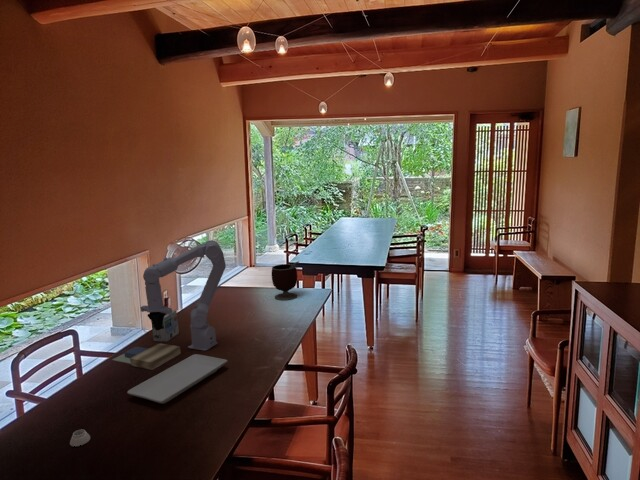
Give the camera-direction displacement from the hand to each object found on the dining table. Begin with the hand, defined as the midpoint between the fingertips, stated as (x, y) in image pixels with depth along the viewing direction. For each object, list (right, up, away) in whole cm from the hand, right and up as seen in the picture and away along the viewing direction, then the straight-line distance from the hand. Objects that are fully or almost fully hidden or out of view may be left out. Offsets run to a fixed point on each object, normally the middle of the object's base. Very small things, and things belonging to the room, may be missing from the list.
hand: (158, 329), depth 182 cm
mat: (-10, -11, 0) cm, 14 cm away
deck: (+1, -11, -5) cm, 12 cm away
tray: (+17, -14, -25) cm, 33 cm away
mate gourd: (+47, +4, +66) cm, 81 cm away
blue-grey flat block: (-8, -10, 0) cm, 13 cm away
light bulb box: (-3, -7, +18) cm, 20 cm away
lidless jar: (-2, -21, -56) cm, 60 cm away
